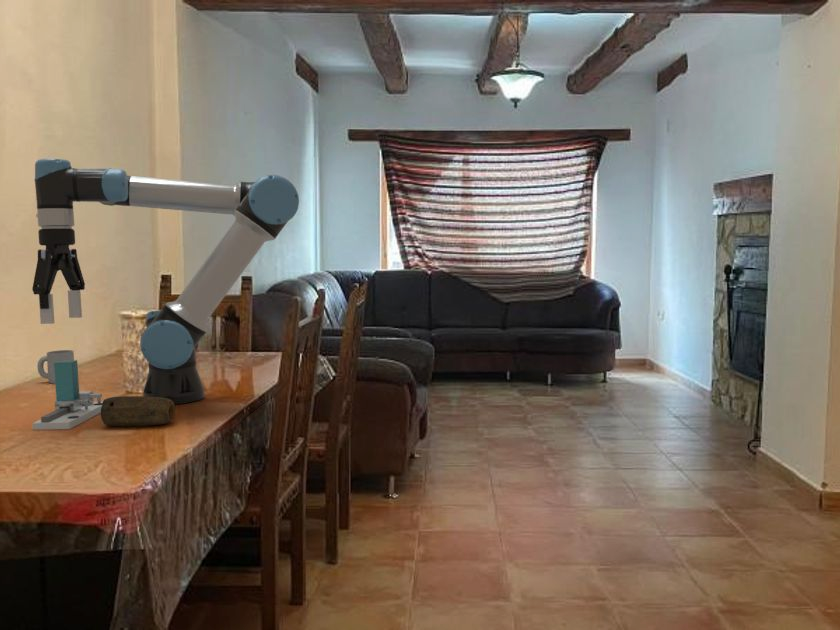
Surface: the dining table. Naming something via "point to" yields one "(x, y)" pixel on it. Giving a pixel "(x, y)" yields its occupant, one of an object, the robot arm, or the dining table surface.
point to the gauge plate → (70, 414)
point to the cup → (50, 359)
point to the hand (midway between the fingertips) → (62, 320)
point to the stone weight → (137, 411)
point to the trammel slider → (68, 385)
